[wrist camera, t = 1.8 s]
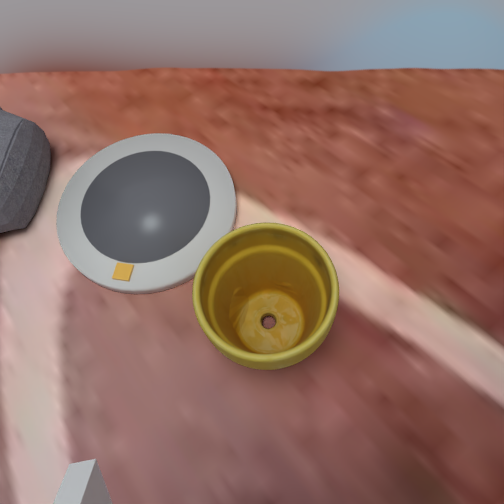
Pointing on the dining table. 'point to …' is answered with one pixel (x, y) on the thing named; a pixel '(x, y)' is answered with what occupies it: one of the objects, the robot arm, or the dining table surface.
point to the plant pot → (266, 295)
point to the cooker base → (145, 212)
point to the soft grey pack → (21, 170)
